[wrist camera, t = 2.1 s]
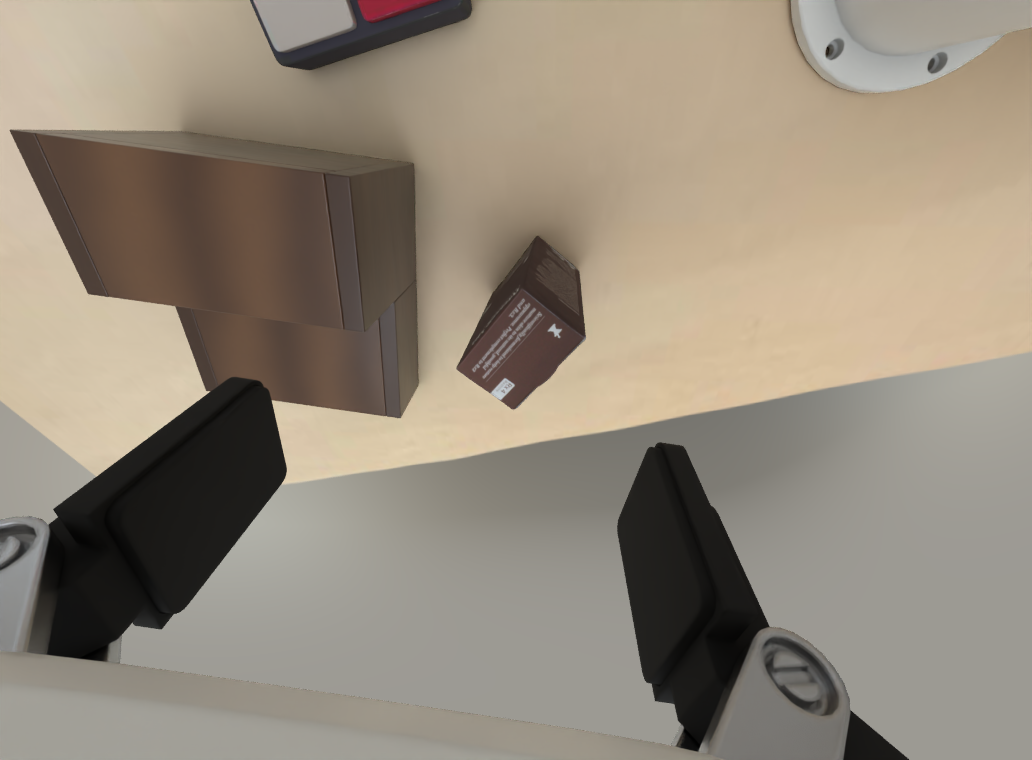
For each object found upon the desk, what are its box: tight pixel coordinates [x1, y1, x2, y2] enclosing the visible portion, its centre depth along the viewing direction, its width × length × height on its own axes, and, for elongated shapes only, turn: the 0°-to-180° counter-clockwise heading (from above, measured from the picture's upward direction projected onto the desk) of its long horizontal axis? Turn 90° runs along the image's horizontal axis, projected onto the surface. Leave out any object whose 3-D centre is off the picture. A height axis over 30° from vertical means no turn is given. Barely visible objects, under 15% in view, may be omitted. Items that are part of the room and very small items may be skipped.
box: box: [457, 236, 586, 409], centre depth 25 cm, size 6×4×12 cm
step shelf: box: [10, 130, 418, 418], centre depth 27 cm, size 16×18×10 cm
